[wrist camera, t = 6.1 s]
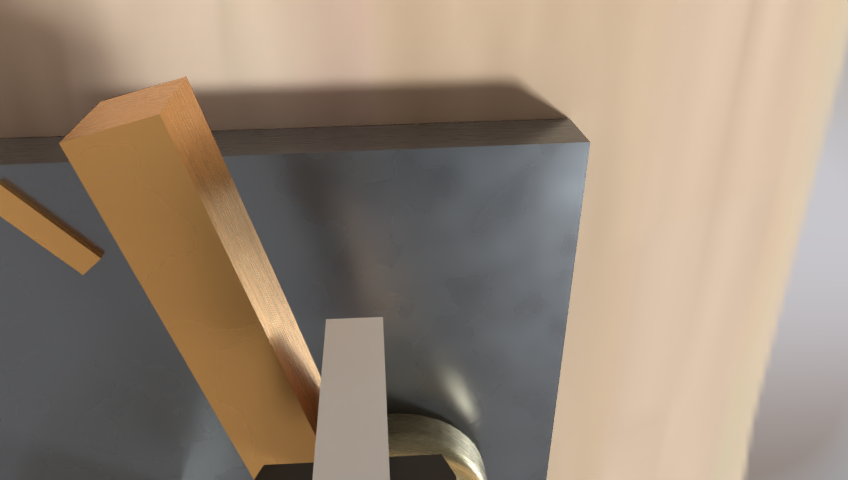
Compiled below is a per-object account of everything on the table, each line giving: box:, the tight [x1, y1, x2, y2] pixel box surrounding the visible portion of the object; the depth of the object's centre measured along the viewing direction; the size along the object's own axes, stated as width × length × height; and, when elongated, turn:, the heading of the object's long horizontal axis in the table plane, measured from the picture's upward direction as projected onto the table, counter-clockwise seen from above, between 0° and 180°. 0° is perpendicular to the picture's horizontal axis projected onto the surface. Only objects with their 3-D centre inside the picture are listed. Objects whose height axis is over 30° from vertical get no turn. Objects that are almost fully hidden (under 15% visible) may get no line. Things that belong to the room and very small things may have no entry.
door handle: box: [59, 77, 487, 480], centre depth 18 cm, size 20×7×7 cm, turn 14°
